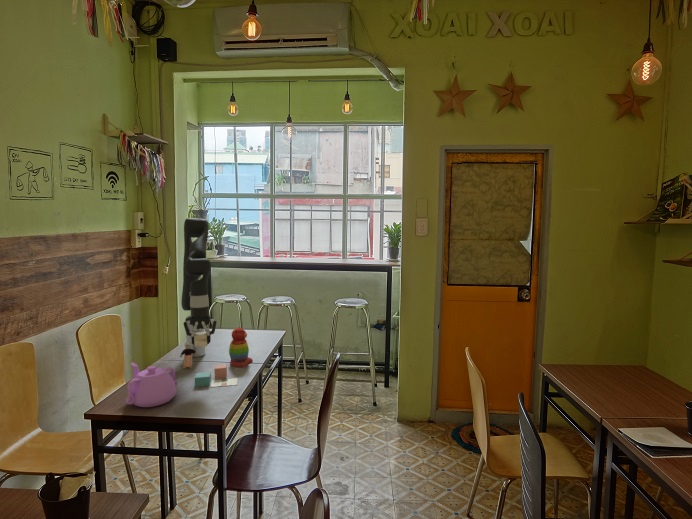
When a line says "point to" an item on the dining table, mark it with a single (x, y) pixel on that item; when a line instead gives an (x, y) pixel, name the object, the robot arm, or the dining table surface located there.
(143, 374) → the teapot
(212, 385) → the page
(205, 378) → the teal base brick
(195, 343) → the maple block
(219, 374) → the red block
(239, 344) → the stacking bear
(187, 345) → the grandmother figurine
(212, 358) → the dining table surface
